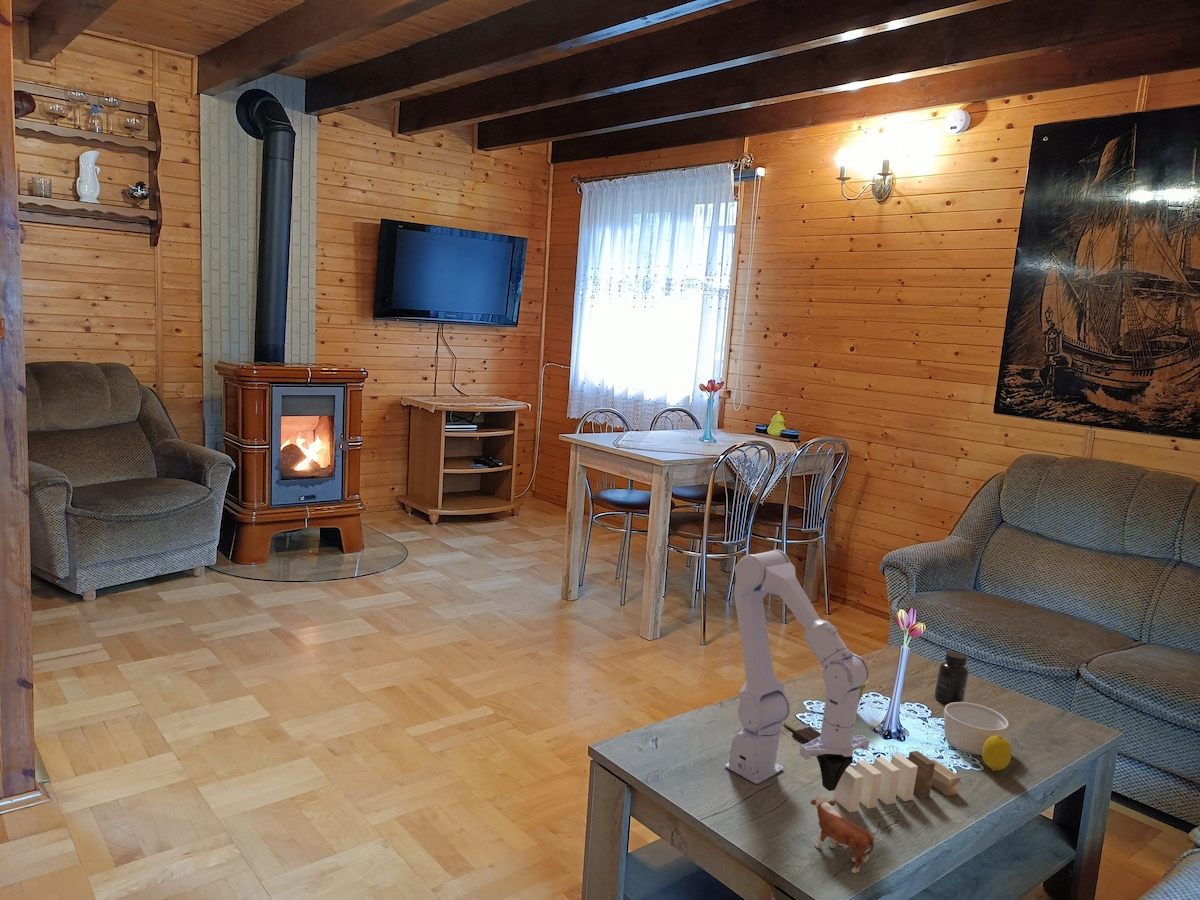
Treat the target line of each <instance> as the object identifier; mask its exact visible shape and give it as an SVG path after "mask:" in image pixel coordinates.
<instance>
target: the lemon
mask: <svg viewBox="0 0 1200 900" xmlns="http://www.w3.org/2000/svg"><path fill="white" fill-rule="evenodd" d="M981 757H982V760H983V762H984V764H985V765H986V766H987V767H988V768H990V769H991V771H993V772H996V771H1000V770H1003V769H1005V768H1007V767H1008V766H1009V764H1010V761H1011V758H1012V748H1011V745H1010V743H1009V741H1008V740H1007V739H1006V738H1005V737H1004V738H1003V737H1002V736H1001V735H998V736H991V737H989V738H988V739H987V740H986V741H985V743H984V745H983V749H982V756H981Z"/></svg>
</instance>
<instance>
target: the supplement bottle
mask: <svg viewBox="0 0 1200 900" xmlns="http://www.w3.org/2000/svg"><path fill="white" fill-rule="evenodd" d="M967 659H968V657H967V656H966V654H963V653H961V652H958V651H947V652H946V653H945V658H944V661H943V662H941V663H940V664H939V668H938V672H937V673H938V674H937V679H936V683H935V684H936V685H935V689H934V690H935V691H934V697H935V699H936V701H938V702H939V703H942V704H944V705H948V704H950V703H954V702H965V698H966V697H965V696H966V691H967V685H968V681H969V680H968V679H969V674H970V672H969V669H968V667H967V666H966V665H967V661H968V660H967Z"/></svg>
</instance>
